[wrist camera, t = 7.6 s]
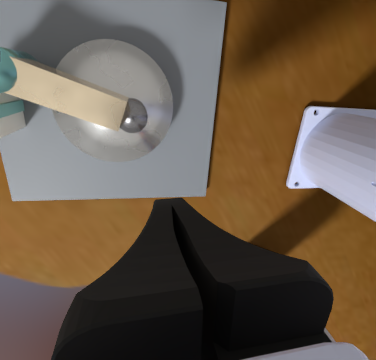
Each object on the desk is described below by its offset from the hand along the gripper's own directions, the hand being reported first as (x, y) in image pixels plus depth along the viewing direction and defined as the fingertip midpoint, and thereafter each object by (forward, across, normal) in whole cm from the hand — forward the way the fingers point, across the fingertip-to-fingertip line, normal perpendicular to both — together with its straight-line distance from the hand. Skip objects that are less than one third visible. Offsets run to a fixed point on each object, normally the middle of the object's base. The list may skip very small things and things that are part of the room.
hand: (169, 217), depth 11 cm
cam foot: (+9, +4, -5) cm, 11 cm away
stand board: (+10, +3, -4) cm, 11 cm away
